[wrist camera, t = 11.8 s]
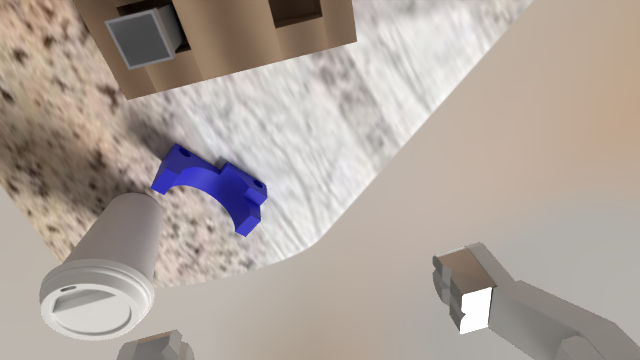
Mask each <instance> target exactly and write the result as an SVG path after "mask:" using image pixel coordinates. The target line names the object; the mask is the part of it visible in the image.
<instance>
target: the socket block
mask: <svg viewBox="0 0 640 360" xmlns="http://www.w3.org/2000/svg"><path fill="white" fill-rule="evenodd" d="M73 1H74V3H75V5H76V7H77V9H78V11H79V12H80V14H81V16H82V18H83V20H84V22H85V24H86V25H87V27H88V29H89V31H90V33H91V35H92V36H93V38H94V40H95V42H96V44H97V46H98V48H99V49H100V51H101V53H102V55H103V57H104V59H105V60H106V62H107V64H108V66H109V68H110V70H111V71H112V73H113V75H114V77H115V79H116V81H117V83H118V84H119V86H120V88H121V90H122V92H123V94H124V95H125V97H126V99H127V100H130V99H134V98H138V97H142V96H146V95H149V94H153V93H157V92H161V91H165V90H169V89H173V88H177V87H181V86H185V85H189V84H193V83H197V82H201V81H204V80H208V79H212V78H216V77H220V76H224V75H228V74H232V73H236V72H240V71H244V70H248V69H252V68H255V67H259V66H263V65H267V64H271V63H275V62H279V61H283V60H287V59H291V58H295V57H299V56H303V55H307V54H310V53H314V52H318V51H322V50H326V49H330V48H334V47H338V46H342V45H346V44H350V43H354V42H357V37H356V30H355V22H354V14H353V7H352V0H73ZM171 2H173V4H174V6H175V9H176V12H177V14H178V17H179V19H180V22H181V24H182V27H183V29H184V32H185V34H186V38H185V39H184V40H183V42H182V43H181V44H180V45H179V46H178V48H177V49H176V50H175V53H176V56H175V58H174V59H171V60H167V61H163V62H159V63H155V64H151V65H147V66H143V67H139V68H135V69H131V70H129V69H128V67H127V65H126V63H125V61H124V59H123V58H122V56H121V54H120V52H119V50H118V48H117V46H116V44H115V42H114V40H113V38H112V36H111V34H110V32H109V30H108V28H107V26H106V24H105V22H104V21H106V20H109V19H112V18H116V17H121V16H125V15H129V14H133V13H135V12H137V11H140V10H142V9H146V8H150V7H155V6H159V5H163V4H167V3H171Z"/></svg>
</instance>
